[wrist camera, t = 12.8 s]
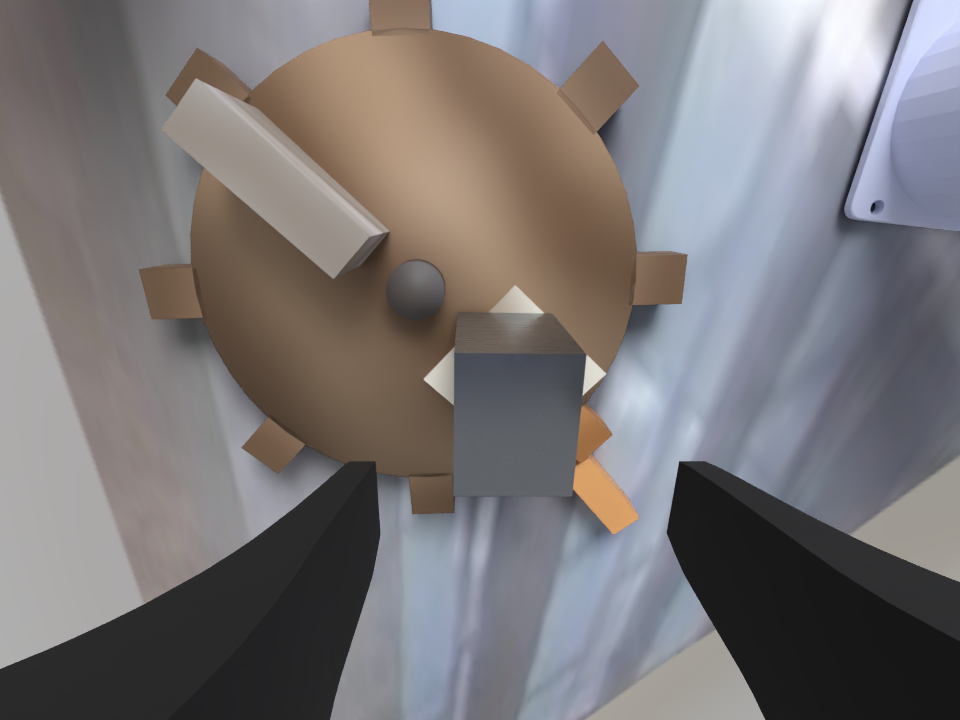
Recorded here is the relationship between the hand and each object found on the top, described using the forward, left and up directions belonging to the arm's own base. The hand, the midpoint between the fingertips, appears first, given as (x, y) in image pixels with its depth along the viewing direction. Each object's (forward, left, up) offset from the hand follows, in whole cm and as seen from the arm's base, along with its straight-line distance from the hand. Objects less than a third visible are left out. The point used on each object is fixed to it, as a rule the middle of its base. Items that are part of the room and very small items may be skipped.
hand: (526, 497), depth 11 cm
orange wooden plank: (-5, +5, -9) cm, 11 cm away
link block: (0, -1, -7) cm, 7 cm away
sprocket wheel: (+4, -3, -9) cm, 10 cm away
